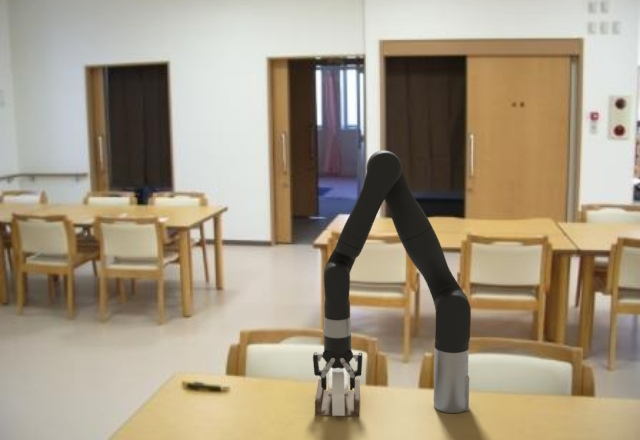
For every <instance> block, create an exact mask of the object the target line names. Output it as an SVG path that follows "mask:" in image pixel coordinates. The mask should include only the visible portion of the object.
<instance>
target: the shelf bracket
mask: <svg viewBox="0 0 640 440" xmlns="http://www.w3.org/2000/svg"><path fill="white" fill-rule="evenodd" d="M328 374H329V375H328V384H327V391H328V395H329V396H332V416H331V417H346V416H345V402H344V396H348V391H349V377H348V372H347V371H346V369H345V368H343V369H340V368H335V369H334V368H330V370H329V372H328Z"/></svg>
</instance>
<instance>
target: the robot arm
mask: <svg viewBox="0 0 640 440" xmlns="http://www.w3.org/2000/svg"><path fill="white" fill-rule="evenodd" d="M402 166H403V165H402V163H401V160H400V158H399V157H398V156H397V155H396V154H395V153H394V152H392V151H389V150H382V149H381V150H378V151H375V152H374V153H373V154H371V156H370V157H369V158H368V160H367V163H366V175H365V179H364V180H363V181H364V182H363V185H362V189H361V191H360V194H359V197H358V199H357V200H356V203H355V205H354V207H353V209H352V210H351V212H350V214H349V216H348V218H347V219H346V222H345V223H344V226H343V228H342V230H341V232H340V235H339V237H338V239H337V241H336V245H335V247H334V249H333V250H332V253H331V254H330V255H329V256H330V257H329V258H328V260H327V262H326V264H325V266H324V270H323V285H324V286H323V287H324V296H325V297H324V322H323V352H322V353H319V352H316V351H315V352H314V353H313V354H312V362H313V372H314V373H313V374H314V376H316V377H318V376H319V377H320V379H321V387H322V388H324V391H327V390H328V384H327V375H328V373H329V372H330V368H334V369H335V368H340V369H343V368H345V369H346V371H347V374H348V375H349V391H353V390H354V388H355V380H356V378H357V377H360V376H362V370H363V369H362V368H363V352H358V353H353V351H352V321H351V303H350V289H351V288H350V287H351V272H352V268H353V266H354V263H355V262H356V260H357V258H358V257H359V256H360V255H361V253H362V251H363V249H364V246H365V244H366V241H367V239H369V238H368V237H369V235H370V233H371V230H372V228H373V225H374V222H375V220H376V217H377V216H378V214H379V210H380V209H381V207H382V204H384V203H383V202H384V201H385V203H386V205H387V207H388V208H387V209H388V211H389V213H390V216H391V219H392V223H393V225H394V228H395V230H396V231H395V232H396V233H397V236H398V237H399V240H400V242H401V244H402V246H403V248H404V251H405V253H406V254H407V255H408V257H409V259H410V261H411V262H412V263H413V265H414V266H415V267H416V269H417V270H418V272H419V273H420V274H421V275H422V277H423V279H424V281H425V283H426V286H427V287H428V290H429V293H430V295H431V298H432V301H433V305H434V310H435V333H434V334H435V335H434V336H435V337H434V353H433V354H434V357H433V358H434V363H433V368H434V369H433V372H434V373H433V407H434V408H435V410H438V411H439V412H442V413H448V414H459V413H462V412H468V411H469V410H470V409H469V408H470V376H469V357H470V356H469V354H470V353H469V350H470V348H469V347H470V340H471V319H472V317H471V316H472V313H471V312H472V308H471V304H470V302H469V299H468V297H467V295H466V294H465V292H464V290H463V289H462V287H461V286H460V285H459V282H457V280H456V278H455V276H454V275H453V273H452V271H451V269H450V267H449V266H448V262H447V260H446V257H445V254H444V253H445V252H444V250H443V248H442V244H441V243H440V240H439V238H438V236H437V234H436V232H435V229H434V228H433V226H432V223H431V222H430V220H429V218H428V217H427V215H426V213H425V212H424V210H423V208H422V207H421V205H420V204H419V203H418V201H417V200H416V198H415V197H414V195H413V193H412V191H411V189H410V187H409V185H408V182H407V180H406V177H405V175H404V174H405V173H404V171H403V167H402ZM322 359H323V360H324V362H325V365H324V367H323V369H322V370H321V369H320V365H319V364H320V363H319V362H320V361H321V360H322ZM352 359H354V361H355V362H357V365H356V366H357V367H356V370H354V368H353V366H352V364H351V363H350V362H352Z"/></svg>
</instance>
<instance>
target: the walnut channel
mask: <svg viewBox="0 0 640 440" xmlns="http://www.w3.org/2000/svg"><path fill="white" fill-rule="evenodd" d="M360 380H361V379H355V388H353V390H348V396H344V402H345V416H344V417H360V404H361V403H360V398H361V396H360V393H361V389H360V386H361V383H360V382H361V381H360ZM314 416H316V417H319V416H320V417H333V416H332V396H329V395H328V390H324V388H322V387H321V378H319V379H318V381H317V385H316V393H315V399H314Z"/></svg>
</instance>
